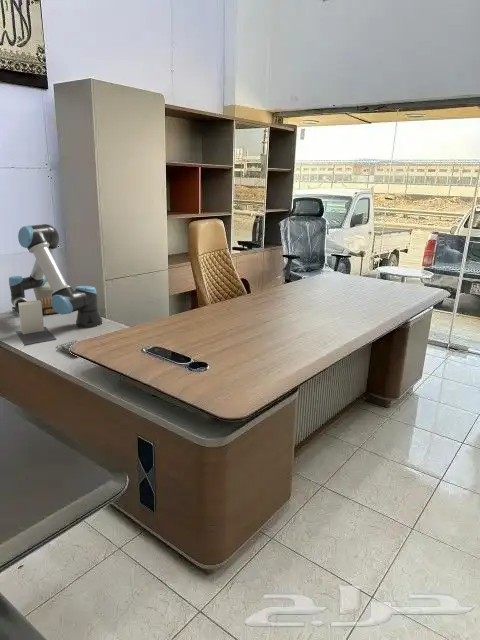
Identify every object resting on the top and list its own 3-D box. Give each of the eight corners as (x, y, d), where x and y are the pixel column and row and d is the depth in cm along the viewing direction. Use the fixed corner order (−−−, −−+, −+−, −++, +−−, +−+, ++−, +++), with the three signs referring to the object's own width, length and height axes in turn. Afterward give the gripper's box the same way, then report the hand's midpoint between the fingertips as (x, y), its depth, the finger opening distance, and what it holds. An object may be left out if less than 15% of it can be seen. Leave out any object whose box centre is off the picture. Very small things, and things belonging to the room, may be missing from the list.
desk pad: (15, 332, 249) (15, 331, 249) (45, 327, 258) (45, 326, 258) (24, 345, 229) (24, 344, 228) (56, 339, 237) (56, 338, 237)
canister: (52, 296, 309) (48, 269, 299) (69, 305, 301) (65, 277, 291) (29, 305, 296) (24, 277, 286) (45, 314, 288) (41, 286, 277)
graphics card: (54, 345, 221) (76, 339, 229) (55, 352, 222) (77, 345, 230) (70, 354, 210) (93, 347, 218) (71, 361, 211) (94, 354, 219)
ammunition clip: (59, 312, 287) (57, 295, 283) (60, 313, 285) (57, 295, 282) (41, 315, 281) (39, 297, 278) (42, 316, 280) (39, 297, 276)
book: (21, 331, 247) (18, 302, 238) (42, 327, 253) (39, 299, 244) (22, 334, 244) (19, 305, 236) (44, 330, 250) (41, 302, 242)
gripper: (34, 309, 268) (42, 318, 250) (10, 312, 261) (17, 322, 243) (32, 297, 266) (41, 306, 248) (8, 300, 259) (15, 309, 240)
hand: (29, 314), depth 245 cm, fingers closed
